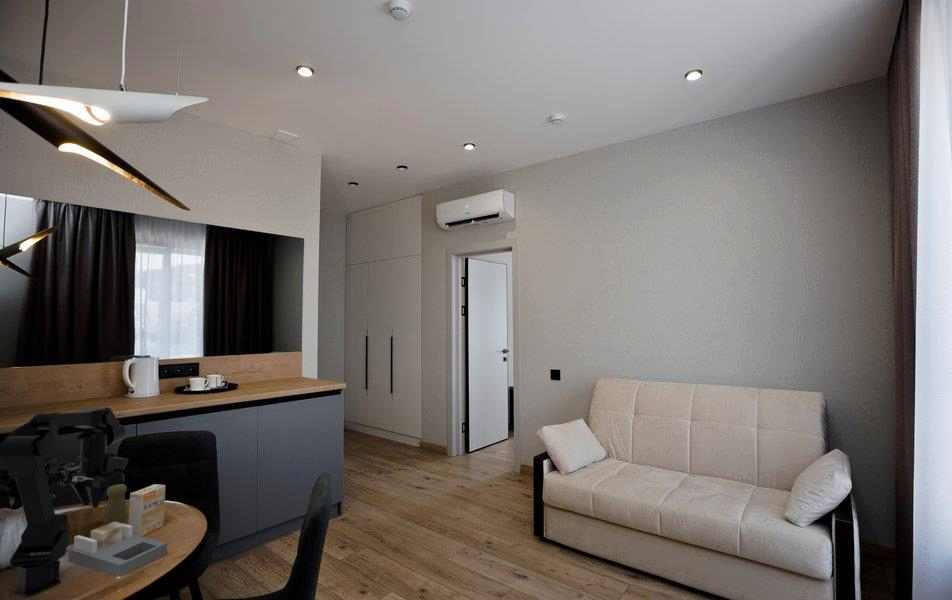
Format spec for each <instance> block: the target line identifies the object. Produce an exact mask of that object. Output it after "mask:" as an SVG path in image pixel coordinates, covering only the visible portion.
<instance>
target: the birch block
mask: <svg viewBox="0 0 952 600" xmlns="http://www.w3.org/2000/svg"><path fill="white" fill-rule="evenodd" d="M90 538H91V539H94V540H97V547H98V548H101V549H102V548H105V547H107V546H109V545H112V544H114V543H116V542H119V541H121V540H122V526H120V525H117V524H113V523H106V524H104V525H101V526H100V527H97V528H94V529H92V530H90Z"/></svg>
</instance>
